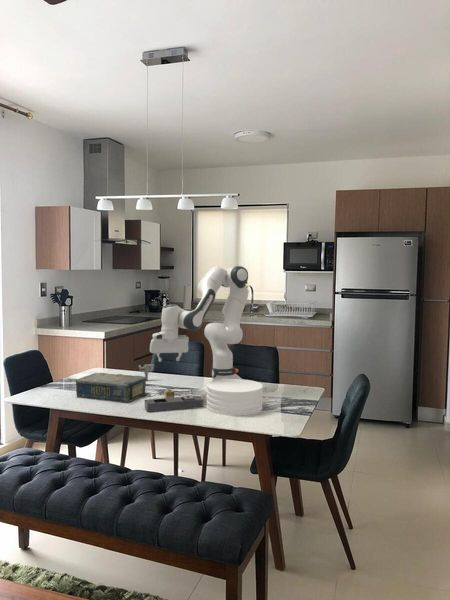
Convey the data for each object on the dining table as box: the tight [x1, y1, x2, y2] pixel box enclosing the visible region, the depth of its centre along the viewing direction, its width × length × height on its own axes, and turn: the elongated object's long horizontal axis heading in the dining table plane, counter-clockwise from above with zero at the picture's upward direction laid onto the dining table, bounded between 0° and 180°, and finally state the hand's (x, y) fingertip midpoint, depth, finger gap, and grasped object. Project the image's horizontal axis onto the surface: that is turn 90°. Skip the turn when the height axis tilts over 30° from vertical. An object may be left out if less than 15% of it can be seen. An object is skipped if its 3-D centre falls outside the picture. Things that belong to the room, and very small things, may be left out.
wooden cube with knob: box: [163, 389, 176, 398], centre depth 257 cm, size 4×4×5 cm
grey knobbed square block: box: [181, 395, 193, 401], centre depth 245 cm, size 4×4×5 cm
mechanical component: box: [137, 363, 156, 382], centre depth 300 cm, size 3×10×10 cm, turn 107°
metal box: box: [75, 372, 147, 404], centre depth 265 cm, size 21×32×10 cm, turn 71°
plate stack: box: [206, 378, 264, 417], centre depth 244 cm, size 28×28×12 cm
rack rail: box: [144, 395, 204, 413], centre depth 243 cm, size 28×8×4 cm, turn 109°
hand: (169, 361), depth 256 cm, fingers open, 8 cm apart
